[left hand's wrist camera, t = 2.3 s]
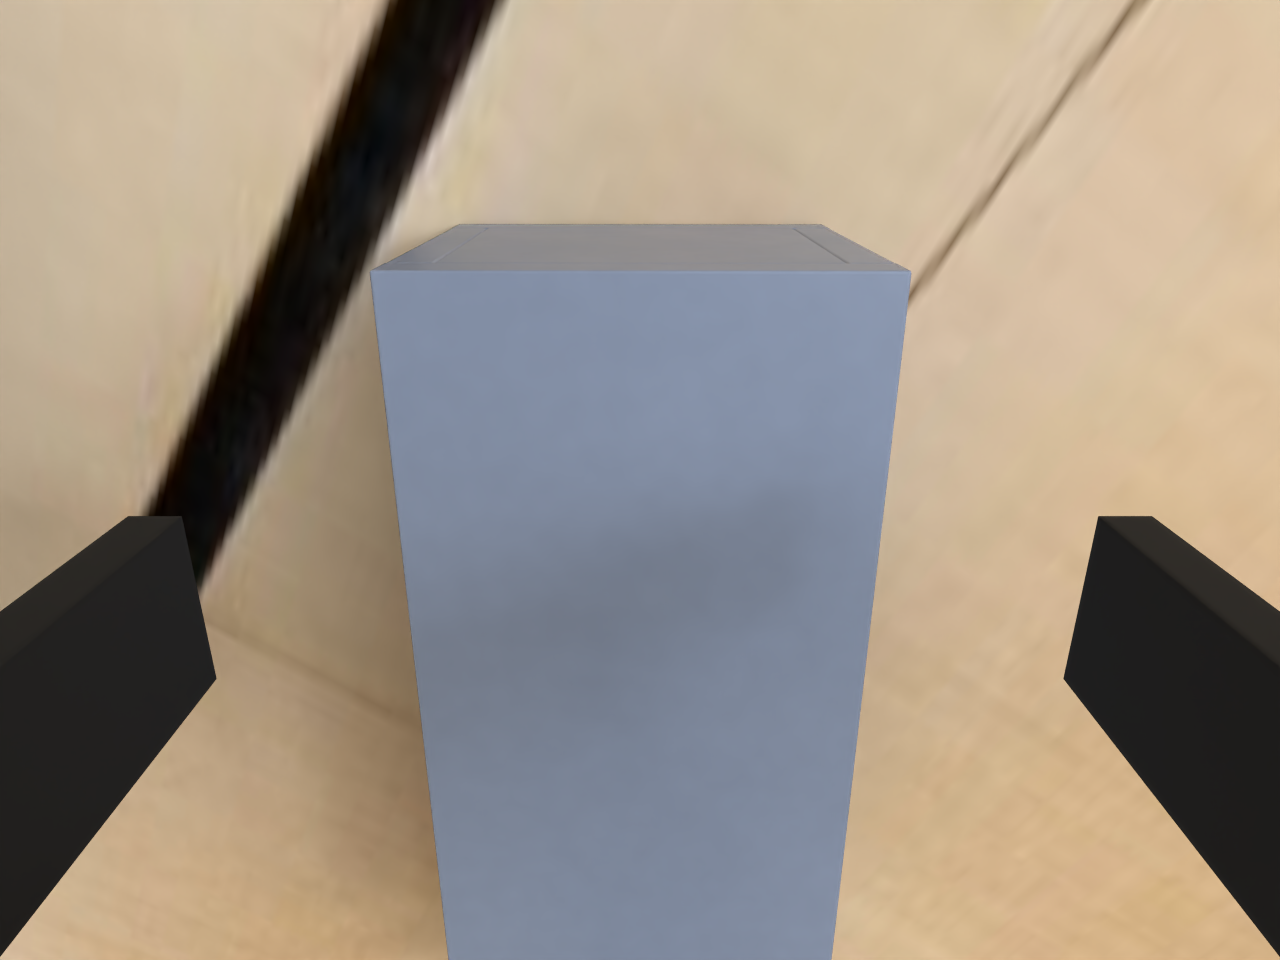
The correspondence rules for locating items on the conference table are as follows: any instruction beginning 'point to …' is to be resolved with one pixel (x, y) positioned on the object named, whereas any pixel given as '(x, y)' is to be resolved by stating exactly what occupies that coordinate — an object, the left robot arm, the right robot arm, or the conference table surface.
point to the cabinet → (640, 574)
